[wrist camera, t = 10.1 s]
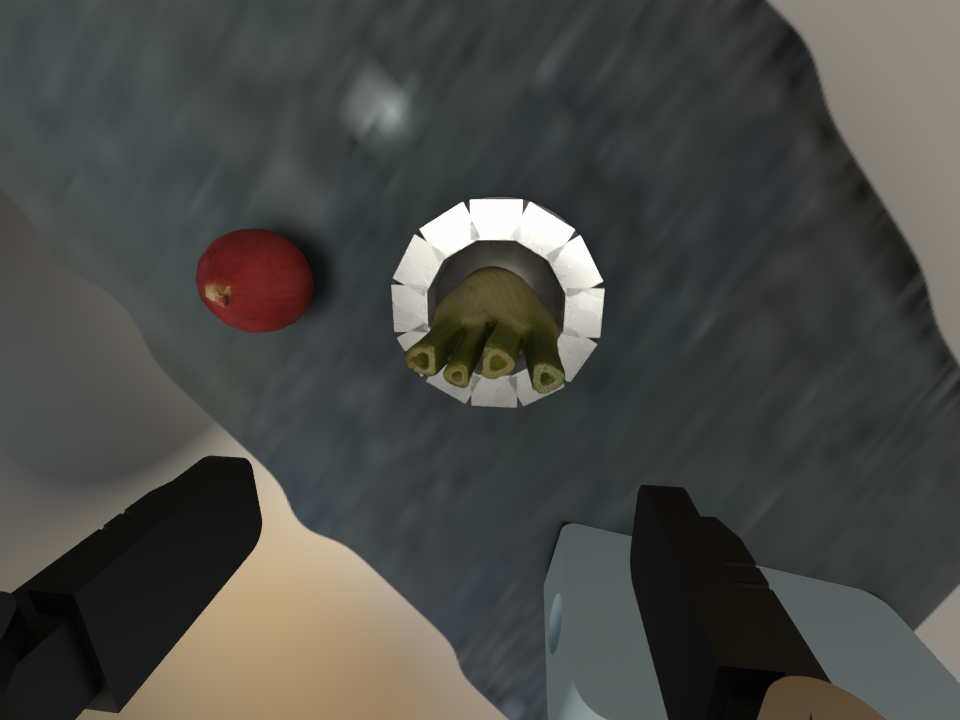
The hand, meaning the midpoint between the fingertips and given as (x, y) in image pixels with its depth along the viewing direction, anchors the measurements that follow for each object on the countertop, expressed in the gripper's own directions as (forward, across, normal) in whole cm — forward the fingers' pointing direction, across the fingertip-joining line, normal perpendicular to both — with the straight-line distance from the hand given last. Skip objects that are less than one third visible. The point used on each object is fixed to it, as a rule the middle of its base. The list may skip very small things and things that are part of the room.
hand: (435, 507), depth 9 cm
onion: (+20, +14, -2) cm, 24 cm away
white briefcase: (+20, -16, +20) cm, 33 cm away
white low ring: (+20, 0, 0) cm, 20 cm away
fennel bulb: (+19, 0, 0) cm, 19 cm away
